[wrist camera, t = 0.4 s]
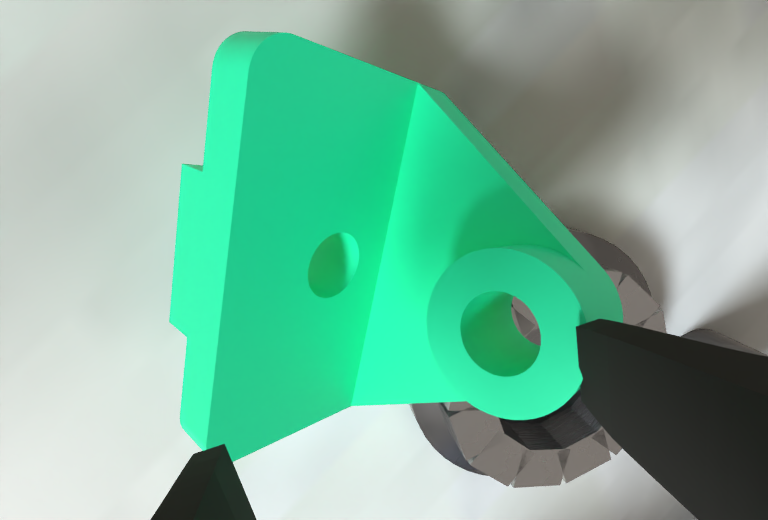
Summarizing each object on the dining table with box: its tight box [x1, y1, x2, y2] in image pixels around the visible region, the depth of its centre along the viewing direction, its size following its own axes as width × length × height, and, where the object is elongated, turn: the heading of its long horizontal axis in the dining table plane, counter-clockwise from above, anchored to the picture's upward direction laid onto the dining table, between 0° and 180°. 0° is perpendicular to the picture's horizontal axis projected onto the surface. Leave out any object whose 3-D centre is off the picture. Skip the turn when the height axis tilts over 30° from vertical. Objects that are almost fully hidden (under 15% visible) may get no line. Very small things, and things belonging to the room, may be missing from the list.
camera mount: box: [169, 31, 623, 462], centre depth 13 cm, size 12×8×10 cm
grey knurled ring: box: [410, 228, 666, 488], centre depth 21 cm, size 13×13×3 cm
